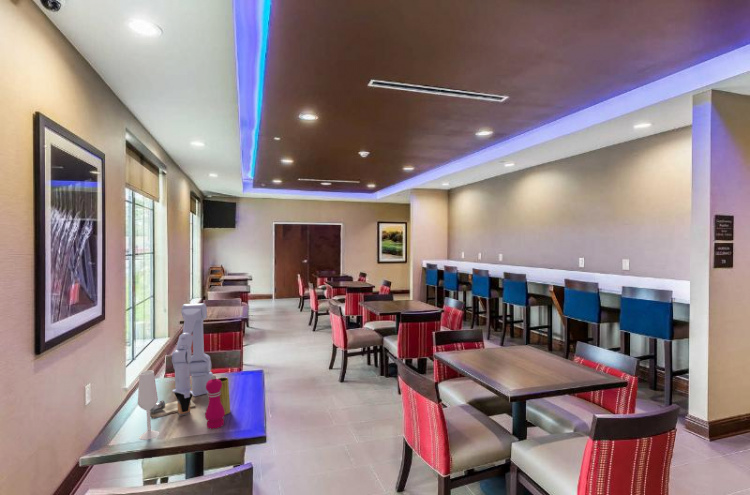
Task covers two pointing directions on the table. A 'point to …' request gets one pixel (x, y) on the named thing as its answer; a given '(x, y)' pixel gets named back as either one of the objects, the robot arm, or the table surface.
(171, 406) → the plate
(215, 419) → the pepper mill
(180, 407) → the orange rectangular block
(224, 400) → the vase
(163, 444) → the table surface
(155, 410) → the shaft
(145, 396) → the champagne flute
